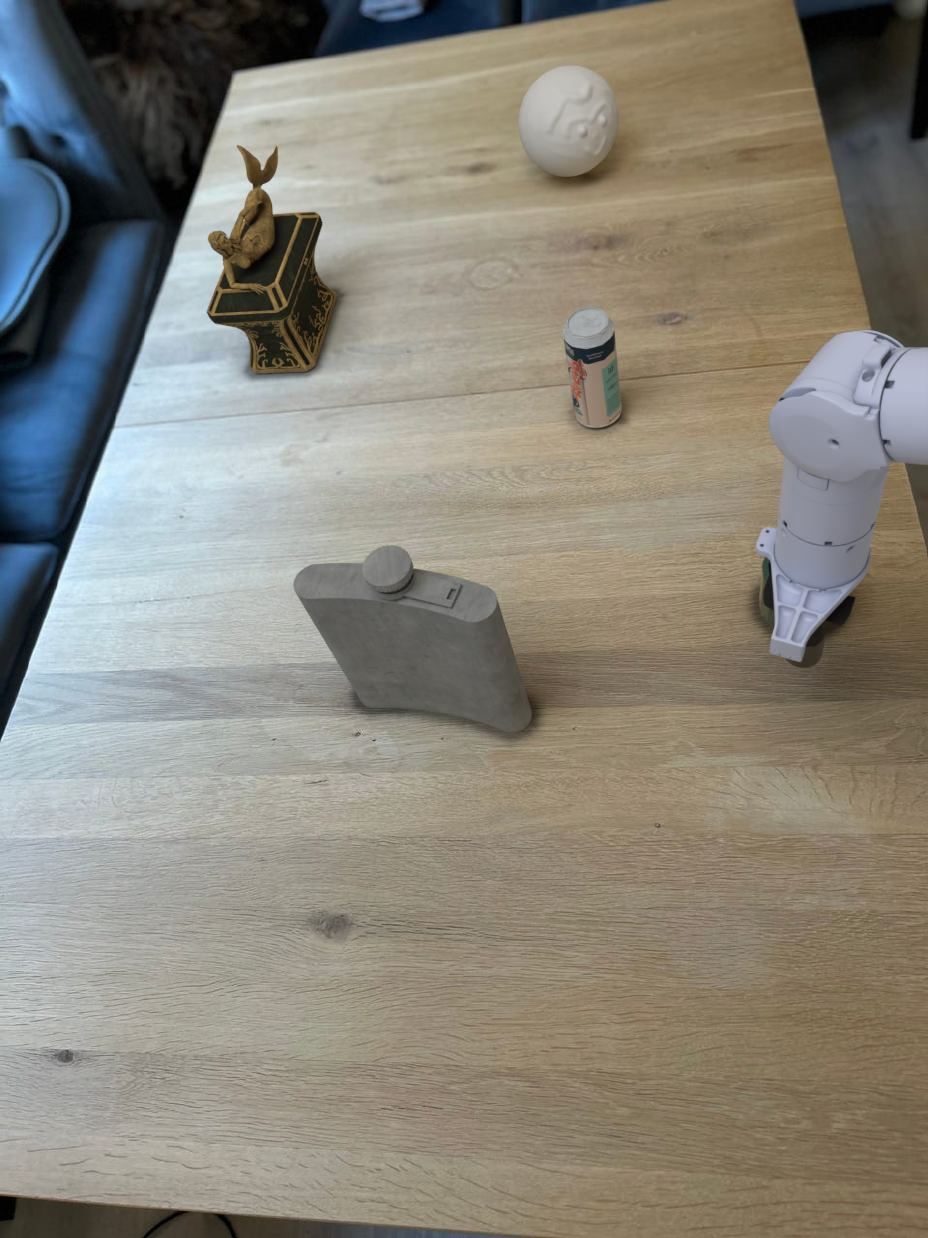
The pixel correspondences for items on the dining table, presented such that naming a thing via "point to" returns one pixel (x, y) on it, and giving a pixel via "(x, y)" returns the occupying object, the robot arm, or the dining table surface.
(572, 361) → the beer can
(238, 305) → the decorative box
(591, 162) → the decorative ball
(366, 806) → the dining table surface
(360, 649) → the hip flask
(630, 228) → the dining table surface
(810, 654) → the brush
